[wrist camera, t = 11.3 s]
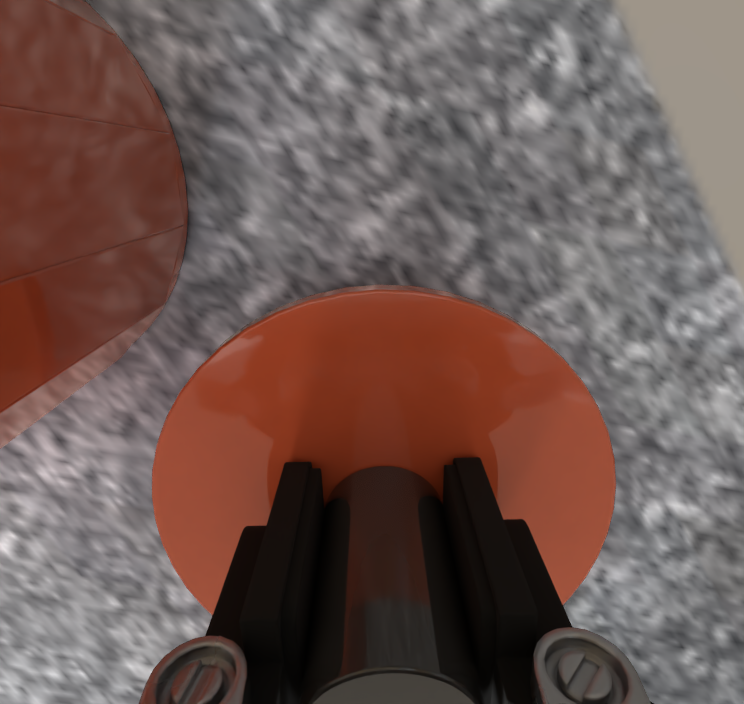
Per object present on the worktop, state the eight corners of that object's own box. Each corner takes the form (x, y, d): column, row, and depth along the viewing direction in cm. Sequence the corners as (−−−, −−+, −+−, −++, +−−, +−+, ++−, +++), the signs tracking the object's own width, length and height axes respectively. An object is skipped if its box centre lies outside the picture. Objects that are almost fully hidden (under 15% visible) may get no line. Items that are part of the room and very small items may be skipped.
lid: (625, 270, 10) (904, 384, 5) (569, 635, 14) (696, 931, 8) (131, 284, 10) (-127, 412, 5) (204, 643, 14) (100, 942, 8)
